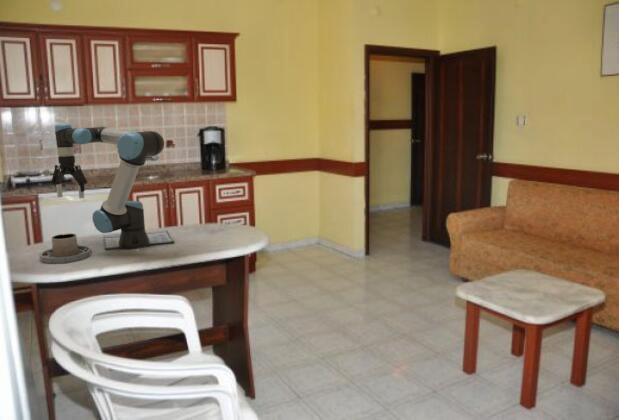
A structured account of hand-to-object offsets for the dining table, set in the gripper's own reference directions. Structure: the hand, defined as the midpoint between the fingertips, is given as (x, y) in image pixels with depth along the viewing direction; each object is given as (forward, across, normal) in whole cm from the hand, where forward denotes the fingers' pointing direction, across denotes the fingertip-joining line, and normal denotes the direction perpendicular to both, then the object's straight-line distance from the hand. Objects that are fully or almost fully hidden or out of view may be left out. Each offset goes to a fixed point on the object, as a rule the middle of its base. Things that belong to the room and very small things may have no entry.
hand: (70, 197), depth 263 cm
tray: (+25, -10, +17) cm, 32 cm away
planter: (+25, -10, +17) cm, 32 cm away
